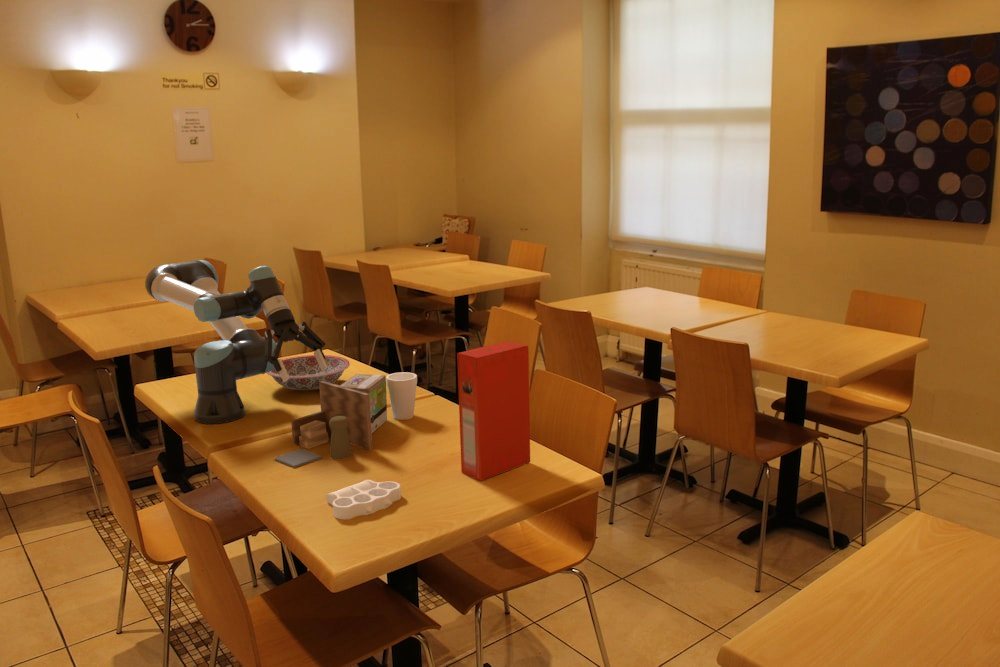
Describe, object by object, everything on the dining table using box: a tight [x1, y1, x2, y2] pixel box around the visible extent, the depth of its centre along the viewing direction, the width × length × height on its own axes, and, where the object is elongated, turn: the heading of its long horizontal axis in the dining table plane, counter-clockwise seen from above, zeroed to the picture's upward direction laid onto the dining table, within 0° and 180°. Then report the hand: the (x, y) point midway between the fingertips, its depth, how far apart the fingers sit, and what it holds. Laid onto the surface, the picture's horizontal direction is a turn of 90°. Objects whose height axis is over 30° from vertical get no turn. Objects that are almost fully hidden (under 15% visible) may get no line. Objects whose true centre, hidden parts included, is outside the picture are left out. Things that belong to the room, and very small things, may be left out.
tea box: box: [339, 373, 388, 434], centre depth 246 cm, size 15×10×15 cm
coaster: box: [274, 448, 323, 469], centre depth 223 cm, size 9×9×1 cm
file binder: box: [456, 340, 531, 482], centre depth 211 cm, size 8×17×32 cm, turn 133°
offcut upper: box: [300, 420, 326, 439], centre depth 234 cm, size 4×6×3 cm, turn 146°
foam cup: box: [386, 371, 418, 421], centre depth 255 cm, size 10×9×13 cm
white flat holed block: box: [325, 478, 402, 520], centre depth 195 cm, size 3×18×15 cm
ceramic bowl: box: [266, 354, 351, 391], centre depth 289 cm, size 29×29×8 cm
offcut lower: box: [299, 432, 329, 449], centre depth 235 cm, size 4×7×3 cm, turn 137°
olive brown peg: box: [329, 416, 353, 460], centre depth 224 cm, size 6×6×11 cm
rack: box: [290, 381, 373, 451], centre depth 231 cm, size 21×12×16 cm, turn 49°
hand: (306, 375), depth 247 cm, fingers open, 13 cm apart
